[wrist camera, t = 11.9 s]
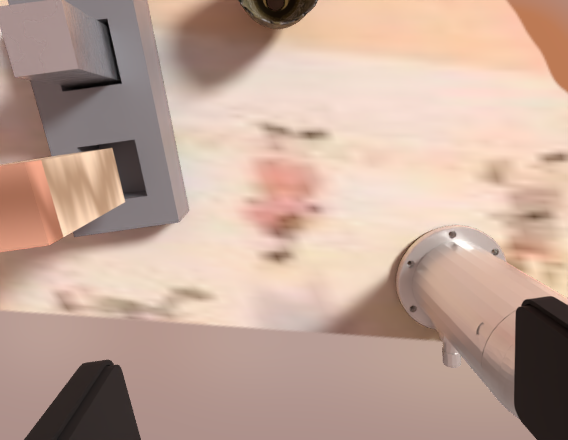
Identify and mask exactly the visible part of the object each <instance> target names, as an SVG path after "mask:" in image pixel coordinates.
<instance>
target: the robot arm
mask: <svg viewBox="0 0 568 440" xmlns="http://www.w3.org/2000/svg"><path fill="white" fill-rule="evenodd" d="M450 232H451V233H450ZM449 233H450V234H449ZM408 261H410V262H409V263H408ZM396 288H397V294H398V297H399V300H400V302H401V304H402V306H403V307H404V309H405V310H406V311H407V313H408V314H409V315H410V316H411V317H412V318H413V319H414V320H415V321H417V322H418V323H419V324H422V325H424V326H426V327H428V328H432V329H435V330H437V331H438V332H439V338H440V340H441V341H442V342H443V349H442V350H443V351H442V352H443V363H444V365H446V366H448V367H451V368H456V367H459V366H460V365H461V356H462V357H463V358H464V360H465V361H466V362H467V363H468V365H469V366H470V367H471V368H472V369H473V371H474V372H475V373H476V374H477V375H478V376H479V378H480V379H481V380H482V381H483V382H484V384H485V385H486V386H487V387H488V388H489V390H490V391H491V392H492V393H493V395H494V396H495V397H496V398H497V399H498V401H499V402H500V403H501V404H502V405H503V406H504V407H505V408H506V409H507V410H508V411H509V412H511V413H512V414H513V415H515V416H516V417H517V418H519V419H520V420H521V422H522V423H523V424H524V425H525V426H526V427H527V429H528V430H529V431H530V432H531V433H532V434H533V436H534V437H535V438H536V439H537V440H568V298H567V297H565V296H563V295H562V294H560V293H558V292H557V291H555V290H553V289H551V288H550V287H548V286H546V285H545V284H543V283H541V282H539V281H538V280H536V279H534V278H533V277H531V276H529V275H527V274H526V273H524V272H522V271H521V270H519V269H517V268H515V267H514V266H512V265H510V264H509V263H507V262H506V258H505V255H504V253H503V251H502V249H501V248H500V246H499V245H498V244H497V243H496V242H495V240H494V239H493V238H491V237H490V236H488V235H487V234H485V233H484V232H482V231H480V230H478V229H475V228H472V227H468V226H461V225H452V226H444V227H441V228H437V229H434V230H432V231H430V232H428V233H426V234H425V235H423V236H422V237H420V238H419V239H418V240H416V241H415V242H414V243H413V244H412V245H411V246H410V247H409V249H408V250H407V252H406V253H405V254H404V256H403V258H402V260H401V262H400V264H399V267H398V271H397V275H396ZM24 440H141V438H140V435H139V431H138V427H137V424H136V420H135V416H134V413H133V409H132V406H131V402H130V398H129V394H128V391H127V388H126V384H125V380H124V376H123V373H122V370H121V367H120V366H119V365H114V364H113V363H112V361H110V360H102V361H95V362H88V363H84V364H82V365H81V366H80V367H79V368H78V370H77V371H76V372H75V373H74V375H73V376H72V377H71V379H70V380H69V382H68V383H67V384H66V385H65V387H64V388H63V389H62V391H61V392H60V393H59V394H58V396H57V397H56V399H55V400H54V401H53V403H52V404H51V405H50V406H49V408H48V409H47V410H46V412H45V413H44V414H43V416H42V417H41V418H40V419H39V421H38V422H37V423H36V425H35V426H34V427H33V429H32V430H31V431H30V433H29V434H28V435H27V437H26V438H25V439H24Z"/></svg>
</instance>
